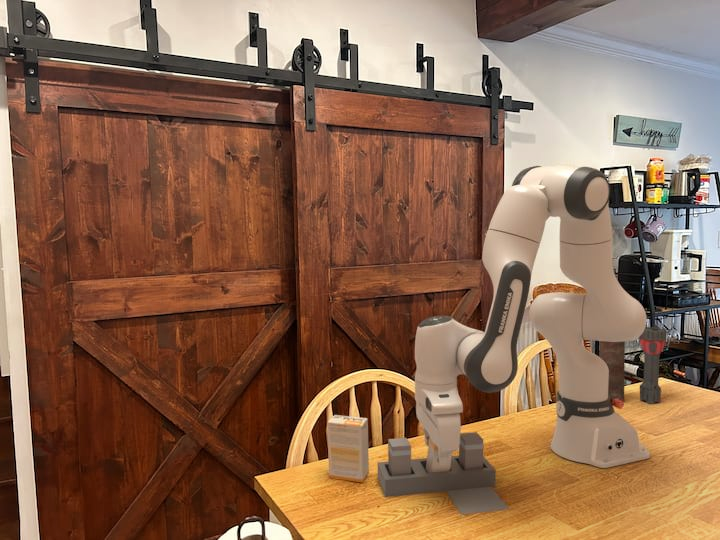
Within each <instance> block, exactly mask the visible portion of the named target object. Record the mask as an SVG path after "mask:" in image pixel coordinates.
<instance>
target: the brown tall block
mask: <svg viewBox="0 0 720 540" xmlns="http://www.w3.org/2000/svg"><path fill="white" fill-rule="evenodd" d="M598 342H599V344H598V351H599V352H598V356H599V357H600V358H601V359H602V360H603V361H604V362H605V363H606V364H607V366H608V369H609V381H608V396H610V397H612V398H613V400H614V399H619V400H620V401H623V403H625V358H626V357H625V356H626V355H625V354H626V353H625V350H626V347H625V345H626V343H625V342H626V341H624V342H607V341H598Z"/></svg>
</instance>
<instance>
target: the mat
mask: <svg viewBox="0 0 720 540" xmlns="http://www.w3.org/2000/svg"><path fill="white" fill-rule="evenodd" d="M445 492H446V493H447V495H448V497H449V498H450V500H451V501H452V504H453V505H454V506H455V508H456V509H457V511H458V512H459V514H460V515H466V514H467V515H470V514H471V515H472V514H479V513H490V512H497V511H498V512H500V511H507V510H508V511H509V510H510V507H508V505H507V503H505V502H504V500H503V499H502V498H501V497H500V495H499V494H498V493H497V492H496V491H495V489H493V487H481V488H470V489H460V490H450V491H445Z"/></svg>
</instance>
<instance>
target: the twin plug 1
mask: <svg viewBox="0 0 720 540" xmlns="http://www.w3.org/2000/svg"><path fill="white" fill-rule="evenodd" d="M387 442H388V443H387V449H388V450H387V452H388V454H387V455H388V456H387V462H388V474H389V476H401V475H411V459H412V445H411V443H410V441H409V440H408V438H407V437H399V438H388V439H387Z"/></svg>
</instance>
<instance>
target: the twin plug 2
mask: <svg viewBox="0 0 720 540" xmlns="http://www.w3.org/2000/svg"><path fill="white" fill-rule="evenodd" d="M484 448H485V447H484V438H483V437H481V435H480V434H479V433H478V432H477V431H476V432H474V431H473V432H463V433H462V432H460V445H459V448H458V455H459V465H460V466H461V468H462V469H463V470H467V469H478V468H483V456H484Z"/></svg>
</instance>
